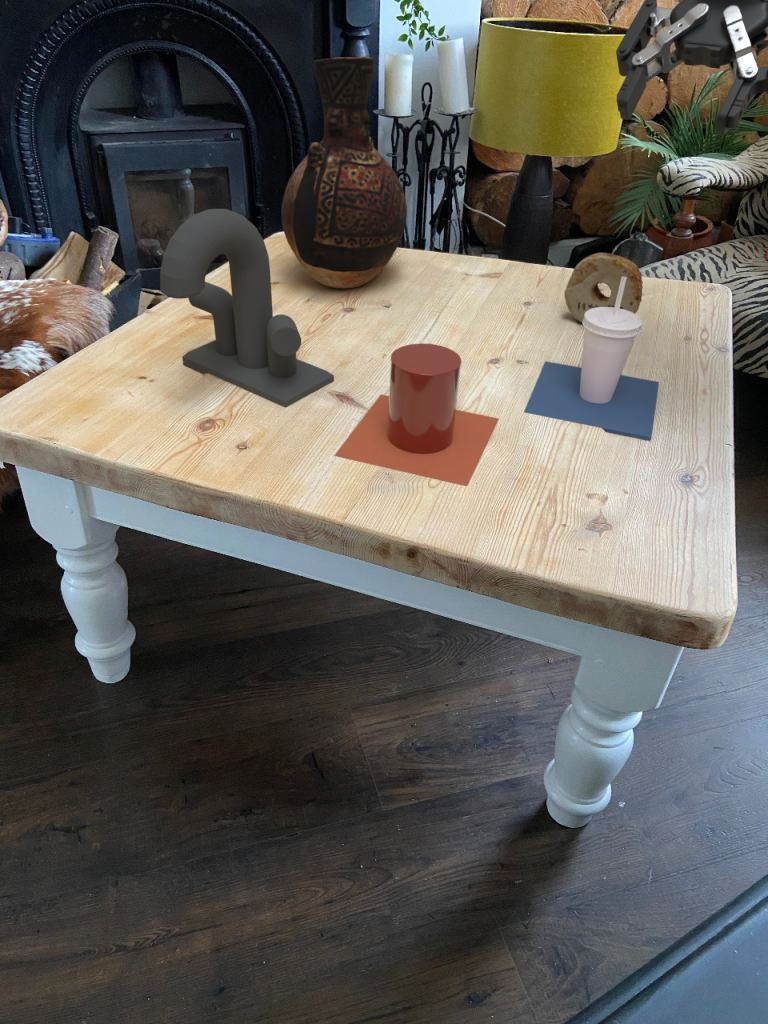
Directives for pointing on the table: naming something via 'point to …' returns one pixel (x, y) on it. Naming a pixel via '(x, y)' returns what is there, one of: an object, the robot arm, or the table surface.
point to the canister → (423, 397)
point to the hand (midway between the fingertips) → (670, 120)
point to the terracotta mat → (444, 465)
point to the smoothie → (606, 348)
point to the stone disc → (606, 270)
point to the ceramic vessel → (344, 186)
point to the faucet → (238, 309)
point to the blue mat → (620, 415)
